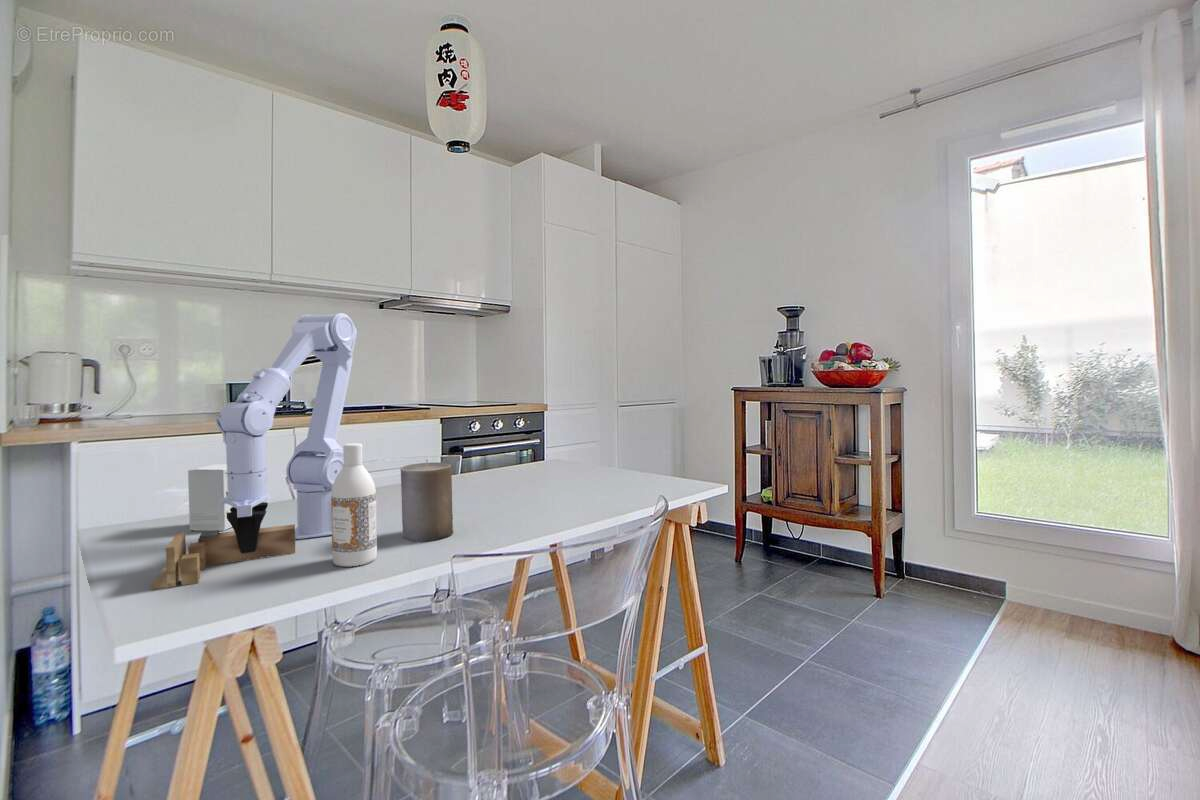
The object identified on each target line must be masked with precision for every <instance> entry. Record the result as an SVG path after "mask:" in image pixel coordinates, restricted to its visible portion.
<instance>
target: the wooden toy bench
mask: <svg viewBox="0 0 1200 800" xmlns="http://www.w3.org/2000/svg"><path fill="white" fill-rule="evenodd" d="M186 541H187V540H186V532H185V531H179V532H177V533H176V534H175V535H174V537H173V538H172V539H171V541H170V542H169V543H168V545H167V546H166V547H165V555H166V558H165V559H166V566H164V567H163V568H162V569H161V571H160V572H159V574H158V575H157V577H156V578H155V580H154V581H153V582H152V584H151V585H150V586H151V587H150V590H151V591H155V590H162V589H168V588H174V587H175V588H176V587H177V586H178V583H179V581H180V580H181V586H186V585H187V586H189V585H194V584H198V583H199V582H200V579H201V571H205V569H206V566H207V565H206V542H198V541H197V542H190V544H189V545H188V546H187V545H186V544H187V543H186ZM186 546H187V547H188V548H186ZM187 549H188V551H187ZM187 552H188V553H187Z"/></svg>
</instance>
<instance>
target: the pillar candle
mask: <svg viewBox="0 0 1200 800" xmlns="http://www.w3.org/2000/svg"><path fill="white" fill-rule="evenodd" d="M428 461H429V460H428V459H426V461H425V462H421V463H420V462H419V463H412V464H408V465H403V466H401V467H400V469H399V470H400V487H401V489H400V490H401V491H400V493H401V495H400V496H401V520H402V523H401V524H402V537H403V539H406V540H409V541H412V542H430V541H435V540H442V539H444V538H446V537H450V536H452V535H453V534H454V530H453V529H454V526H453V525H454V522H453V521H454V517H453V516H454V515H453V481H452V479H453V478H452V477H453V476H452V474H453V473H452V464H451V463H448V462H447V463H446V462H434V461H433V462H428Z"/></svg>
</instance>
